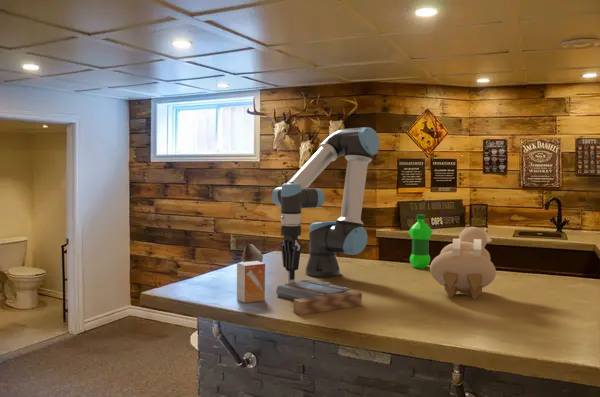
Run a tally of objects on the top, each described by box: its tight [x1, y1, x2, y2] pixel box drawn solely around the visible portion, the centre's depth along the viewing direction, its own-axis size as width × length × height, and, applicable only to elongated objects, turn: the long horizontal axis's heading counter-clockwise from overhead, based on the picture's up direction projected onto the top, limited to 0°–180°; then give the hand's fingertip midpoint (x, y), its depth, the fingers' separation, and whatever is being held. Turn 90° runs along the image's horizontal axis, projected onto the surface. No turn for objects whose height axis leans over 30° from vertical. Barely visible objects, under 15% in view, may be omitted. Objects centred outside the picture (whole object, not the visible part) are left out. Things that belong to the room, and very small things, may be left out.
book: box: [276, 278, 351, 301], centre depth 174 cm, size 21×16×5 cm
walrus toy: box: [429, 226, 497, 301], centre depth 179 cm, size 30×28×23 cm
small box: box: [236, 261, 266, 304], centre depth 170 cm, size 8×6×13 cm
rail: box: [293, 290, 363, 316], centre depth 160 cm, size 24×4×4 cm, turn 120°
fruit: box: [242, 241, 264, 263], centre depth 227 cm, size 10×9×12 cm
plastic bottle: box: [408, 214, 432, 269], centre depth 231 cm, size 10×10×25 cm
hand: (290, 287), depth 182 cm, fingers closed
